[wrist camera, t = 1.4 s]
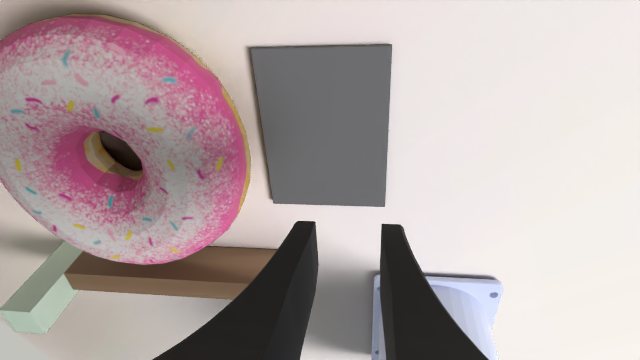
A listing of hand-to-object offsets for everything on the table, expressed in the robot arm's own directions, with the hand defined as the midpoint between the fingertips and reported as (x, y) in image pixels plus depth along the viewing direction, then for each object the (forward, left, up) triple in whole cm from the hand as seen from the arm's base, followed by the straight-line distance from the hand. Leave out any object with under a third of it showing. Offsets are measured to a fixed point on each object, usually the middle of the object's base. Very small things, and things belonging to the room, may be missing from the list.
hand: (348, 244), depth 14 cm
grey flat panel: (0, +2, -8) cm, 9 cm away
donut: (0, +12, -9) cm, 15 cm away
